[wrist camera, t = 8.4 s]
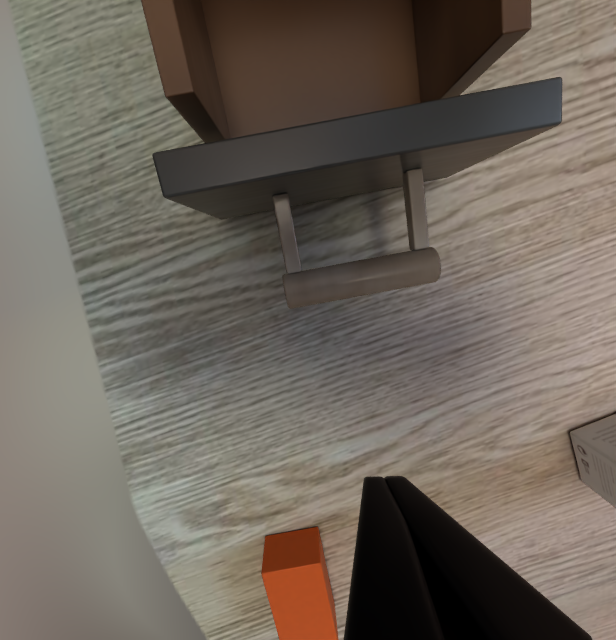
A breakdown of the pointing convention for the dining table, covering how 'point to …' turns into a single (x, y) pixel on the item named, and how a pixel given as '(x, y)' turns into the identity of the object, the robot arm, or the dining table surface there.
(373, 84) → the drawer
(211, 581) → the dining table surface
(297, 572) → the orange rectangular block
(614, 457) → the cosmetic box
